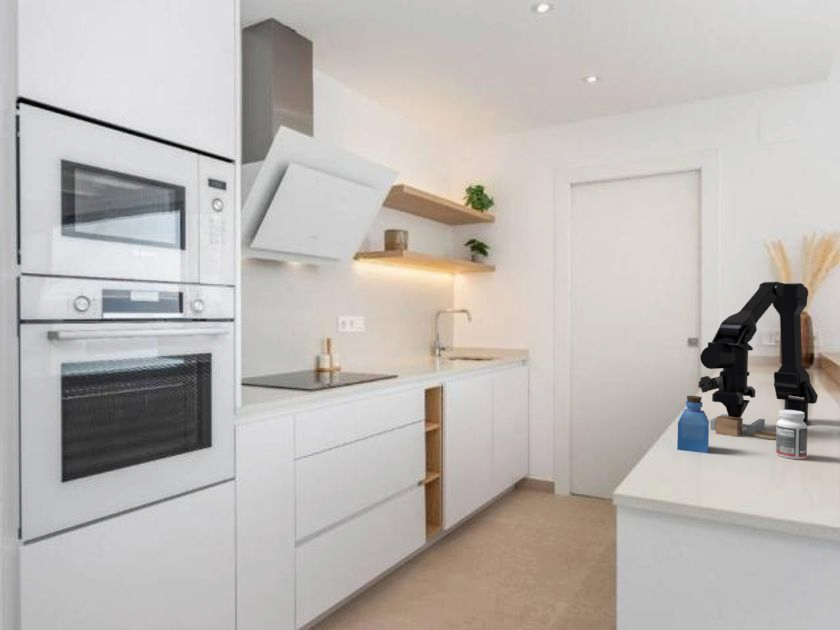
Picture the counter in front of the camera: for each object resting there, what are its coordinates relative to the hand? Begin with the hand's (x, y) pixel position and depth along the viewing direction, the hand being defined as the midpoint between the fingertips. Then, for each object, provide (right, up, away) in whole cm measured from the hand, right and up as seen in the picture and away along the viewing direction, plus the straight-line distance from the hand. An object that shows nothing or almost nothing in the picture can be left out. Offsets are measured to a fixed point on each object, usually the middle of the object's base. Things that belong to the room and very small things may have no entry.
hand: (733, 426), depth 153 cm
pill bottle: (-1, -2, -26) cm, 26 cm away
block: (-3, -1, -3) cm, 4 cm away
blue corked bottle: (-20, -2, -20) cm, 28 cm away
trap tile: (+6, -1, +7) cm, 10 cm away
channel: (+3, -1, +3) cm, 4 cm away
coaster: (+6, -1, -5) cm, 8 cm away
